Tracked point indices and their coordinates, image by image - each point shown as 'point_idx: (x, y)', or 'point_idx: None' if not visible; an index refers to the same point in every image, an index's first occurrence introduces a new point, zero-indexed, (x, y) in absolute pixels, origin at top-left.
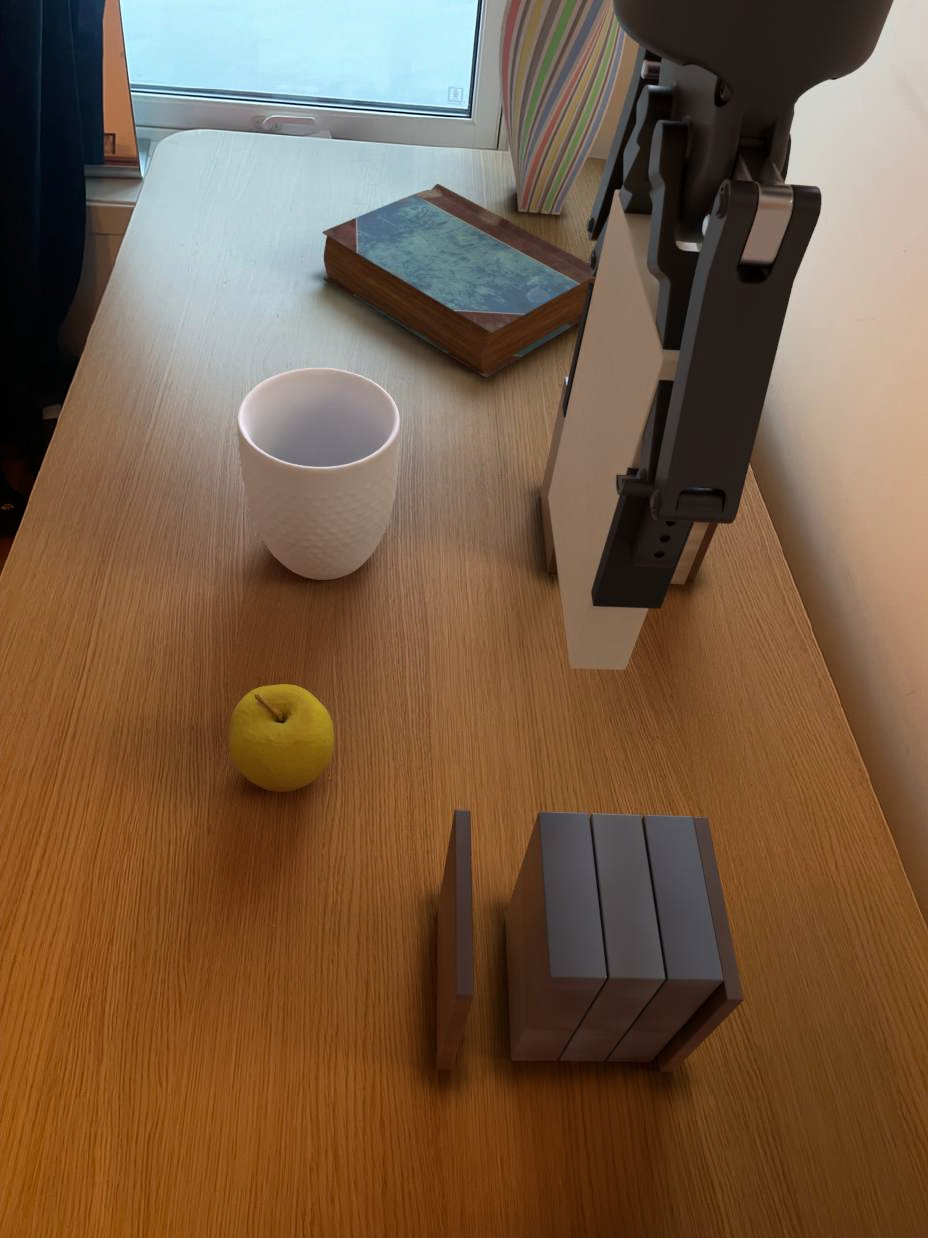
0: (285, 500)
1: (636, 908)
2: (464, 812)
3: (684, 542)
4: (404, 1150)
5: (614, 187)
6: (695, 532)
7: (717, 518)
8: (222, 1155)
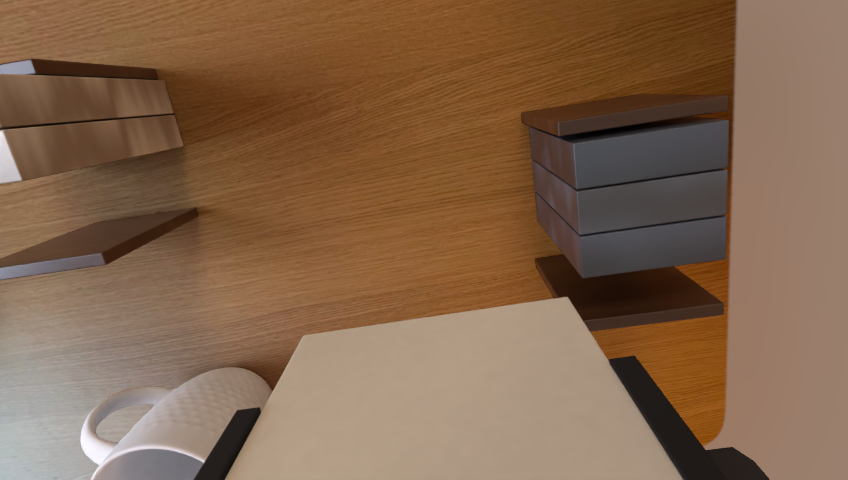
0: None
1: (668, 195)
2: None
3: (697, 442)
4: (689, 264)
5: None
6: (122, 90)
7: None
8: (692, 357)
